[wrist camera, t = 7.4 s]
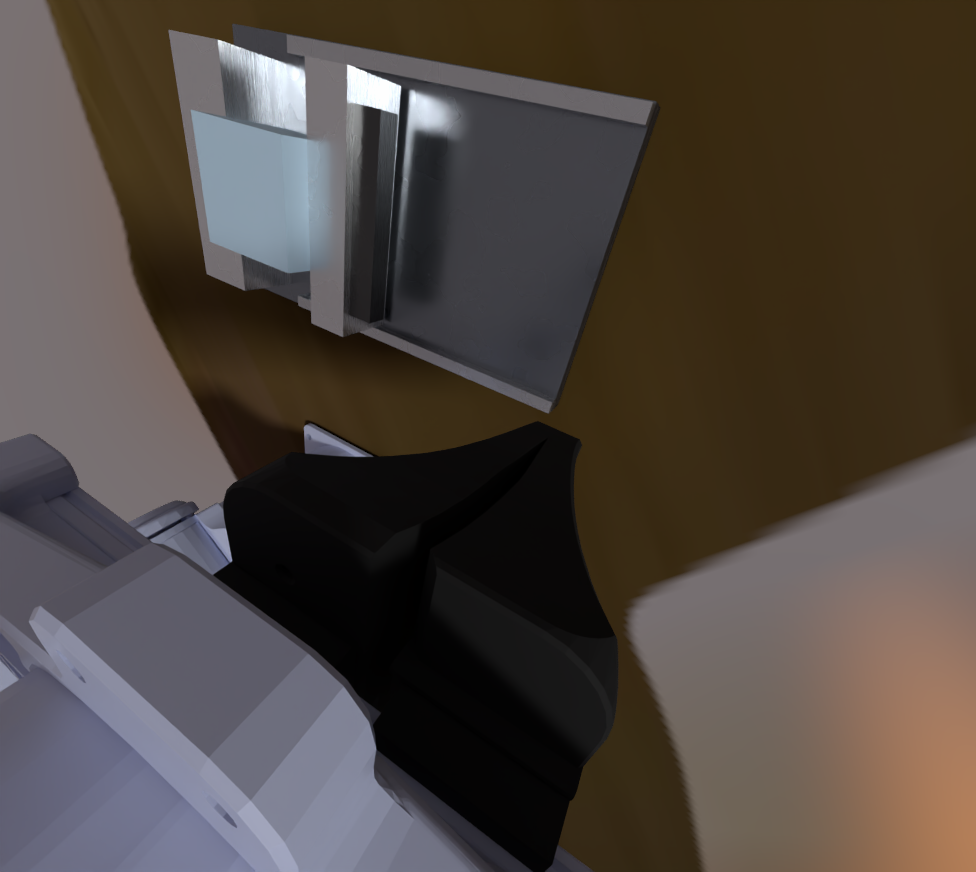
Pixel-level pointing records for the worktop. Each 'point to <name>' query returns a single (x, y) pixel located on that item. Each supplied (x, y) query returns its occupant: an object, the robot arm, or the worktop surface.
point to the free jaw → (349, 192)
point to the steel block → (255, 189)
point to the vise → (453, 199)
